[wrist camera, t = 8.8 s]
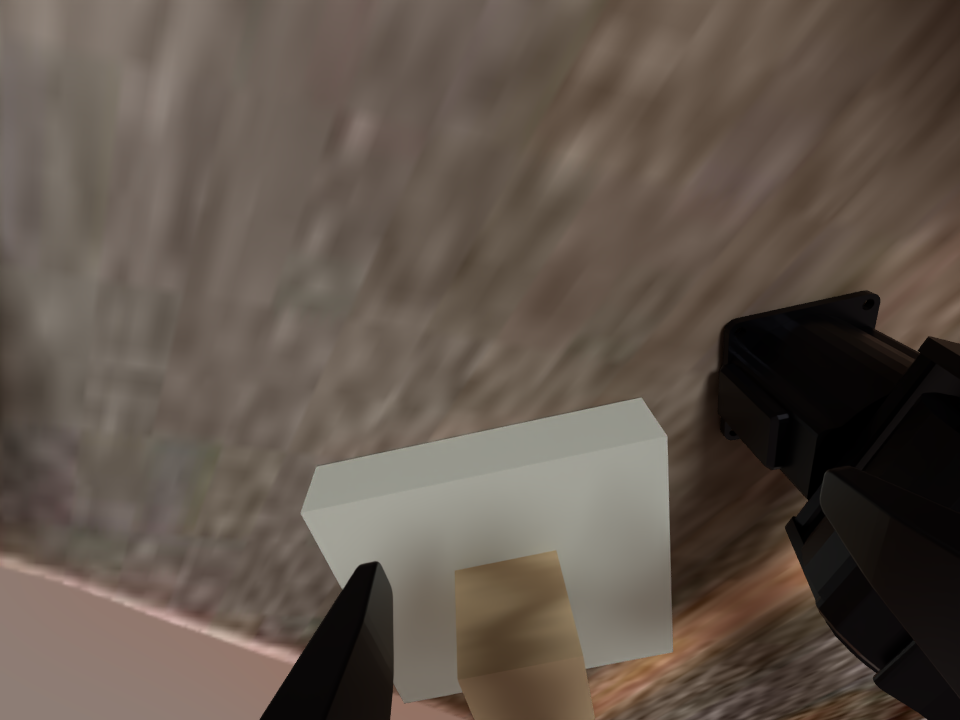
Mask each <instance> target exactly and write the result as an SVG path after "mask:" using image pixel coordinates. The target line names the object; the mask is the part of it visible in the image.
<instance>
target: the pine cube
mask: <svg viewBox="0 0 960 720" xmlns="http://www.w3.org/2000/svg"><path fill="white" fill-rule="evenodd" d="M455 603H456V641H457V679H458V682H459V685H460V687H461V690H462V692H463V694H464V697H465V699H466V701H467V704H468V706H469V708H470V711H471V713H472V716H473V718H474V720H595V717H594V712H593V706H592V701H591V695H590V690H589V684H588V679H587V674H586V668H585V663H584V657H583V653H582V649H581V645H580V641H579V637H578V633H577V629H576V625H575V621H574V618H573V614H572V610H571V606H570V602H569V598H568V594H567V590H566V586H565V582H564V578H563V574H562V570H561V566H560V562H559V559H558V555H557V551H556V550H555V551H550V552H545V553H540V554H535V555H530V556H525V557H520V558H515V559H510V560H505V561H500V562H495V563H490V564H485V565H480V566H475V567H470V568H465V569H460V570H455Z"/></svg>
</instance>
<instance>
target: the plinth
mask: <svg viewBox="0 0 960 720" xmlns="http://www.w3.org/2000/svg"><path fill="white" fill-rule="evenodd" d="M301 515H302V517H303V518H304V520H305V522H306V524H307V526H308V528H309V529H310V531H311V533H312V535H313V537H314V539H315V540H316V542H317V544H318V546H319V548H320V550H321V551H322V553H323V555H324V557H325V559H326V561H327V562H328V564H329V566H330V568H331V570H332V572H333V573H334V575H335V577H336V579H337V581H338V583H339V584H340V586H341V588H342V590H343V588H344V587H345V585H346V583H347V582H348V580H349V579H350V577H351V576H352V574H353V572H354V571H355V569H356V568H357V567H358V566H359V565H360V564H363V563H368V562H373V561H378V562H379V563H380V564H381V565H382V567H383V569H384V572H385V574H386V576H387V578H388V580H389V582H390V585H391V587H392V592H393V636H394V680H393V684H394V685H395V687H396V689H397V691H398V693H399V695H400V696H401V698H402V700H403V702H404V703H410V702H415V701H421V700H426V699H431V698H436V697H441V696H447V695H452V694H457V693H462V690H461V687H460V685H459V682H458V679H457V641H456V603H455V570H460V569H465V568H470V567H475V566H480V565H485V564H490V563H495V562H500V561H505V560H510V559H515V558H520V557H525V556H530V555H535V554H540V553H545V552H550V551H555V550H556V551H557V555H558V559H559V562H560V566H561V570H562V574H563V578H564V582H565V586H566V590H567V594H568V598H569V602H570V606H571V610H572V614H573V618H574V621H575V625H576V629H577V633H578V637H579V641H580V645H581V649H582V653H583V657H584V663H585V668H586V669H587V668H592V667H598V666H603V665H608V664H613V663H618V662H624V661H629V660H634V659H639V658H645V657H650V656H655V655H660V654H665V653H671V652H673V635H672V597H671V559H670V521H669V482H668V444H667V435H666V434H665V432H664V431H663V429H662V428H661V426H660V425H659V423H658V422H657V420H656V419H655V417H654V416H653V414H652V413H651V411H650V410H649V408H648V407H647V405H646V404H645V402H644V401H643V399H642V398H637V399H632V400H627V401H623V402H618V403H613V404H609V405H604V406H599V407H595V408H590V409H585V410H580V411H576V412H571V413H566V414H562V415H557V416H552V417H548V418H543V419H538V420H534V421H529V422H524V423H519V424H515V425H510V426H505V427H501V428H496V429H491V430H487V431H482V432H477V433H472V434H468V435H463V436H458V437H454V438H449V439H444V440H440V441H435V442H430V443H425V444H421V445H416V446H411V447H407V448H402V449H397V450H393V451H388V452H383V453H379V454H374V455H369V456H364V457H360V458H355V459H350V460H346V461H341V462H336V463H332V464H327V465H322V466H317V467H316V470H315V473H314V475H313V478H312V481H311V484H310V487H309V490H308V493H307V496H306V499H305V502H304V504H303V507H302V510H301Z"/></svg>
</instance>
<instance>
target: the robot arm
mask: <svg viewBox="0 0 960 720" xmlns="http://www.w3.org/2000/svg"><path fill="white" fill-rule="evenodd" d="M865 301H867V302H866V303H865V304H864V302H865ZM863 304H864V305H863ZM879 306H880V297H879V296H878V295H876V294H874V293H872V292H870V291H860V292H855V293H851V294H846V295H841V296H837V297H832V298H828V299H823V300H818V301H814V302H809V303H805V304H800V305H795V306H791V307H786V308H782V309H777V310H772V311H768V312H763V313H759V314H754V315H749V316H745V317H740V318H736V319H733V320H731V321H730V322H729V323H728V324H727V325H726V327H725V330H724V349H723V366H722V367H721V369H720V371H719V394H718V414H719V415H720V416H721V423H720V430H721V433H722V434H723V435H724V436H725V437H726V439H728V440H736V439H741V440H742V441H743V442H744V443H745V444H746V445H747V447H748V448H749V449H750V450H751V451H752V452H753V453H754V455H755V456H756V457H757V458H758V459H759V460H760V461H761V462H762V464H763V465H764V466H766V467H767V468H769V469H770V470H775V469H780V470H781V471H782V472H783V473H784V474H785V475H786V477H787V478H788V479H789V480H790V481H791V482H792V483H793V484H794V485H795V486H796V487H797V489H798V490H799V491H800V492H801V493H802V494H803V495H804V496H805V497H806V498H807V499H808V502H807V503H806V504H805V506H804V507H803V508H802V510H801V511H800V512H799V513H798V515H797V516H793V517H792V518H791V519H790V521H789V522H788V523H787V525H786V526H785V529H786V532H787V534H788V536H789V539H790V541H791V543H792V546H793V548H794V551H795V553H796V555H797V558H798V560H799V562H800V565H801V567H802V569H803V572H804V574H805V576H806V579H807V581H808V583H809V586H810V588H811V591H812V593H813V595H814V598H815V600H816V606H817V608H818V610H819V612H820V614H821V615H822V616H823V618H824V619H825V621H826V623H827V624H828V626H829V627H830V628H831V630H832V632H833V633H834V635H835V636H836V637H837V638H838V639H839V640H840V641H841V642H842V643H843V644H844V645H845V646H846V647H847V649H848V650H849V651H850V652H851V653H852V654H854V655H855V656H856V657H857V658H858V659H859V660H860V661H862V662H863V663H864V664H865V665H866V666H867V667H869V668H870V669H872V670H873V671H874V672H876V674H875V675H874V676H873V680H874V682H875V684H876V685H877V686H878V687H879V688H880V689H881V690H883V691H884V692H886V693H888V694H889V695H891V696H893V697H894V698H896V699H897V700H899V701H901V702H902V703H904V704H905V705H907V706H909V707H910V708H912V709H913V710H915V711H917V712H918V713H920V714H921V715H922V716H923V717H925V718H926V719H927V720H960V344H958V343H954V342H950V341H946V340H942V339H938V338H934V337H930V336H928V337H927V339H926V340H925V341H924V343H923V344H922V345H921V347H920V348H919V349H918V352H917V351H915V350H913V349H911V348H910V347H908V346H906V345H904V344H902V343H900V342H898V341H896V340H894V339H892V338H891V337H889V336H887V335H885V334H883V333H881V332H879V331H877V330H875V325H876V320H877V315H878V310H879ZM740 327H741V330H740V331H739V332H738V333H736V334H735V331H736V330H737V329H738V328H740ZM919 352H920V353H919ZM731 430H732V431H731ZM393 680H394V636H393V592H392V587H391V585H390V582H389V580H388V578H387V576H386V574H385V572H384V569H383V567H382V565H381V564H380V563H379V562H378V561H373V562H368V563H363V564H360V565H359V566H358V567H357V568H356V569H355V571H354V572H353V574H352V576H351V577H350V579H349V580H348V582H347V583H346V585H345V587H344V588H343V590H342V591H341V593H340V594H339V596H338V597H337V599H336V601H335V602H334V604H333V605H332V607H331V608H330V610H329V612H328V613H327V615H326V616H325V618H324V619H323V621H322V623H321V624H320V626H319V627H318V629H317V630H316V632H315V633H314V635H313V637H312V638H311V640H310V641H309V643H308V644H307V646H306V648H305V649H304V651H303V652H302V654H301V655H300V657H299V659H298V660H297V662H296V663H295V665H294V666H293V668H292V670H291V671H290V673H289V674H288V676H287V677H286V679H285V681H284V682H283V684H282V685H281V687H280V688H279V690H278V691H277V693H276V695H275V696H274V698H273V699H272V701H271V703H270V704H269V705H268V707H267V709H266V710H265V712H264V713H263V715H262V717H261V718H260V720H390V715H391V704H392V694H393Z"/></svg>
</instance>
